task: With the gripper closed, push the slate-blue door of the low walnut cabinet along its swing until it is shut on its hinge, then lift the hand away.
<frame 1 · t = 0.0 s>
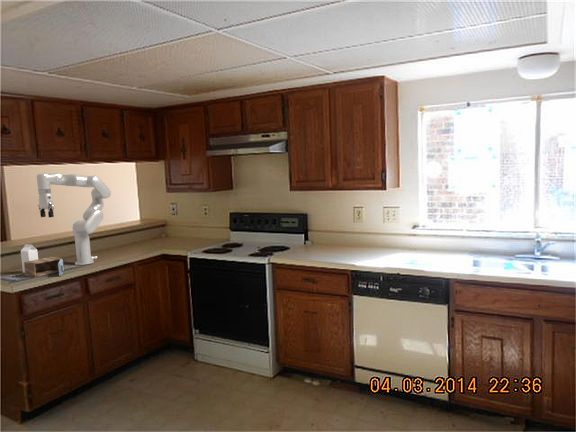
hand: (47, 217, 301), 37 cm above the countertop, tool pointing down, fingers open, 9 cm apart
milk carton: (31, 272, 303), on the countertop
cabinet door: (61, 266, 291), point 5 cm above the countertop, hinge at 55.0°
walnut cabinet: (43, 273, 296), on the countertop
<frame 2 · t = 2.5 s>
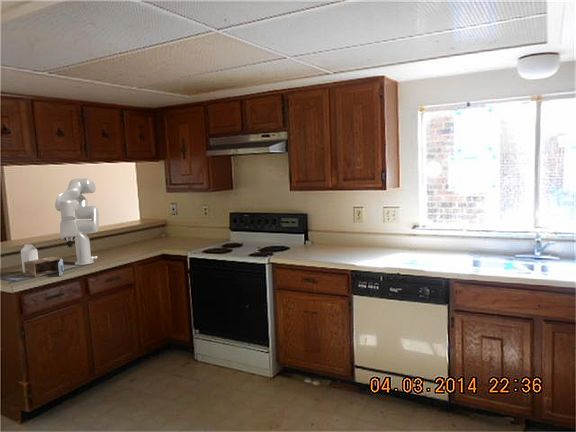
hand: (70, 247, 290), 17 cm above the countertop, tool pointing down, fingers closed
nothing on the countertop moved.
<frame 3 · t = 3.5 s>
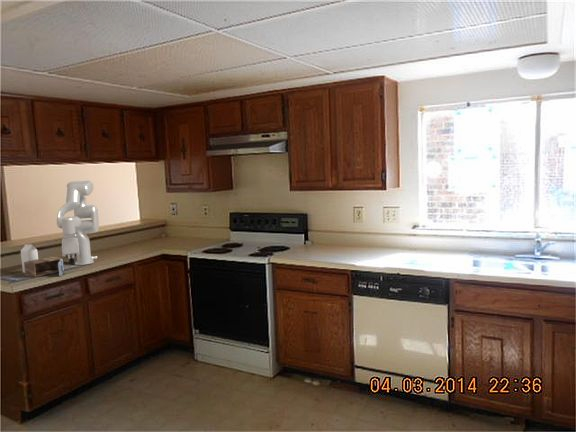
hand: (72, 264, 290), 6 cm above the countertop, tool pointing down, fingers closed
nothing on the countertop moved.
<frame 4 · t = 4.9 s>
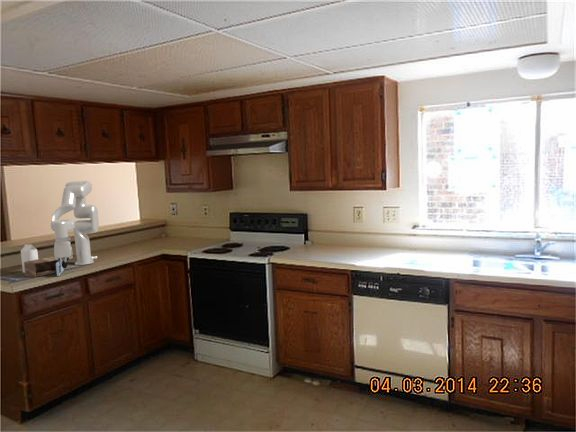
hand: (64, 267, 289), 4 cm above the countertop, tool pointing down, fingers closed
cabinet door: (60, 267, 291), point 4 cm above the countertop, hinge at 50.7°, touching gripper
everything else where it was.
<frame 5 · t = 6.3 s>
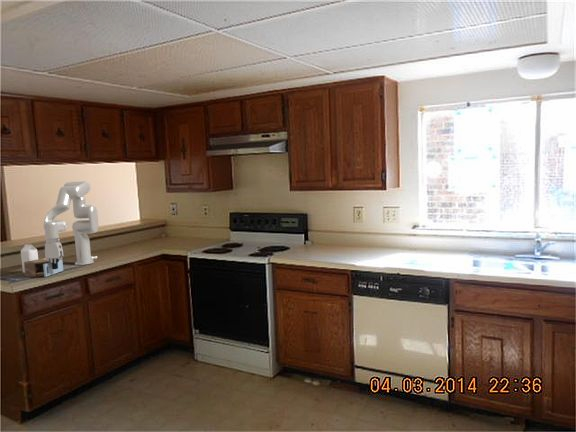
hand: (55, 268, 287), 4 cm above the countertop, tool pointing down, fingers closed
cabinet door: (54, 267, 291), point 5 cm above the countertop, hinge at 25.3°, touching gripper
everything else where it was.
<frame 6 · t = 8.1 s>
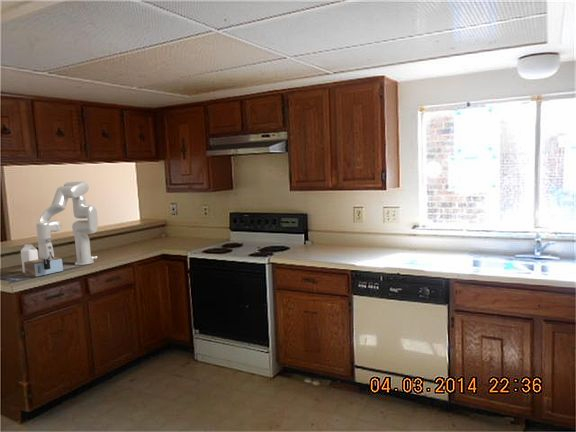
hand: (47, 269, 288), 4 cm above the countertop, tool pointing down, fingers closed
cabinet door: (49, 267, 292), point 5 cm above the countertop, hinge at 0.1°, touching gripper
everything else where it was.
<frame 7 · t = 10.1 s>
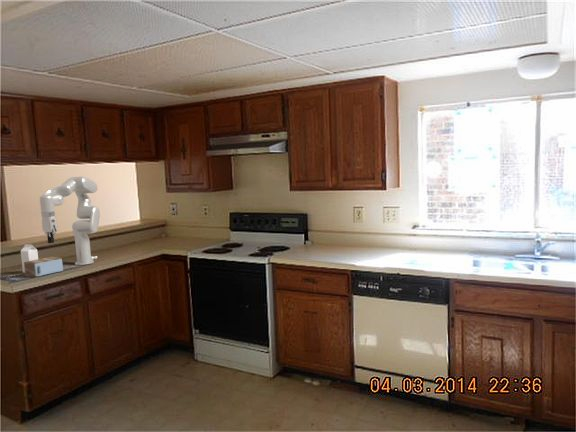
hand: (51, 242, 288), 21 cm above the countertop, tool pointing down, fingers closed
cabinet door: (49, 267, 292), point 5 cm above the countertop, hinge at -0.1°
everything else where it was.
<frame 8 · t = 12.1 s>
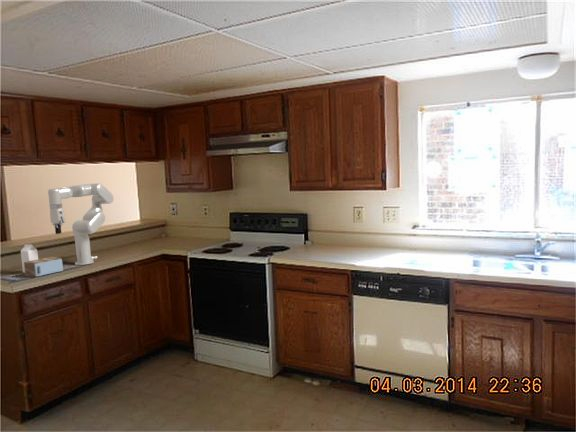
hand: (58, 233, 303), 25 cm above the countertop, tool pointing down, fingers closed
nothing on the countertop moved.
at the end: cabinet door at +0° (first picture: +55°); milk carton moved 0.2 cm from its start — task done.
